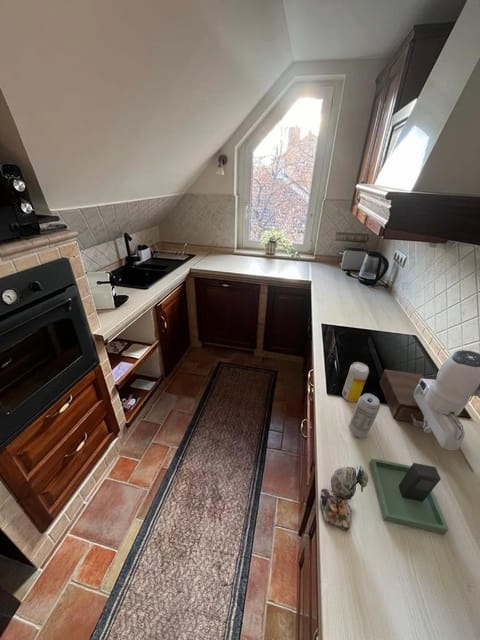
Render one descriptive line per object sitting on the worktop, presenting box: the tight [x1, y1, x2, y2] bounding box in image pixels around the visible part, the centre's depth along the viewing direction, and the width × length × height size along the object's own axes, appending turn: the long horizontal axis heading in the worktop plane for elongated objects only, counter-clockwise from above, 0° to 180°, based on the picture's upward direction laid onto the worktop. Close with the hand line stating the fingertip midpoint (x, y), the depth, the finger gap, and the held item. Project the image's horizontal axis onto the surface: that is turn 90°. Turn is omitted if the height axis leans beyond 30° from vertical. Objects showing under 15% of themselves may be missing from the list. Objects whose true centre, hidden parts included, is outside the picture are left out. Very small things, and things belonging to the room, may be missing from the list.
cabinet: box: [378, 369, 425, 419], centre depth 93 cm, size 18×14×7 cm
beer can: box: [341, 361, 370, 403], centre depth 93 cm, size 6×6×15 cm
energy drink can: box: [348, 392, 381, 438], centre depth 80 cm, size 6×6×15 cm
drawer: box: [395, 406, 424, 428], centre depth 90 cm, size 21×12×5 cm, turn 169°
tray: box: [369, 458, 449, 535], centre depth 67 cm, size 14×15×2 cm
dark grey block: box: [399, 462, 442, 502], centre depth 65 cm, size 5×3×11 cm, turn 79°
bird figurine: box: [319, 465, 369, 532], centre depth 60 cm, size 8×11×20 cm
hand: (425, 430), depth 81 cm, fingers closed
